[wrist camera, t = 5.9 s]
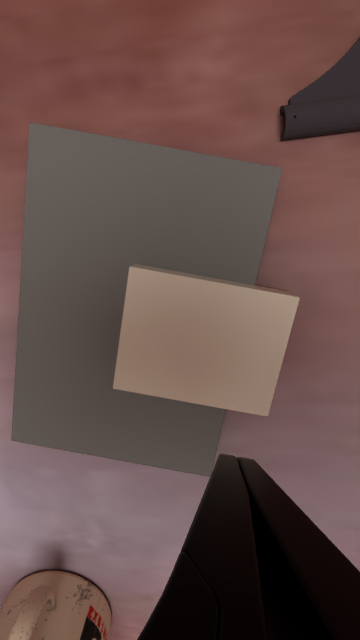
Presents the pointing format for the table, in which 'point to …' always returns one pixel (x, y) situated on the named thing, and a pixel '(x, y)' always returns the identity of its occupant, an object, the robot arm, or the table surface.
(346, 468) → the table surface
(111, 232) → the mat
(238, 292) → the tile
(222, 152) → the table surface
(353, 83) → the bracket
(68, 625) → the teacup with lid
